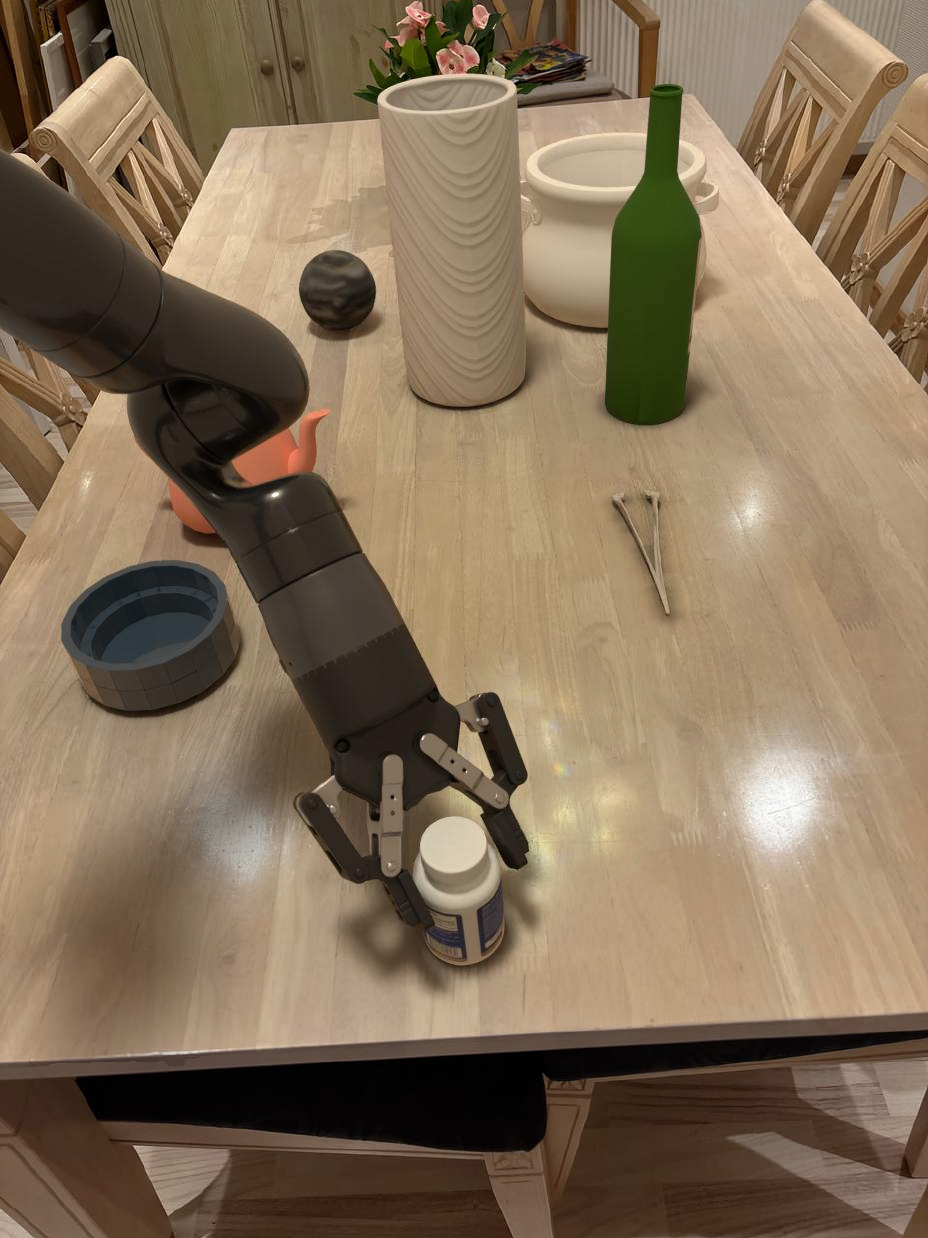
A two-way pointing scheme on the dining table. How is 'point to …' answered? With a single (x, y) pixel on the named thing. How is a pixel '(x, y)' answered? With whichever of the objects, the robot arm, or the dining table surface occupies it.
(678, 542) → the dining table surface
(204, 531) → the teapot
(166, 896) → the dining table surface
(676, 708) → the dining table surface
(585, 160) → the pot
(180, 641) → the bowl
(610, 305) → the wine bottle
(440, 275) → the vase
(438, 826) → the pill bottle
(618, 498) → the jawbone
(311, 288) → the decorative stone
